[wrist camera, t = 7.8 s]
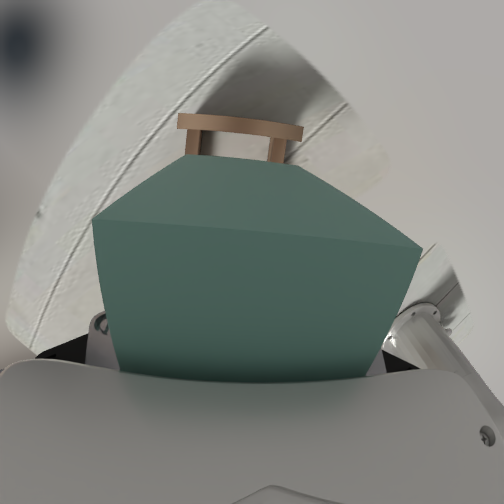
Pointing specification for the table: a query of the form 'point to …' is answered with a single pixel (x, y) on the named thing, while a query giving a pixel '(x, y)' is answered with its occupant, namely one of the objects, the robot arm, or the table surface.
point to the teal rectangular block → (248, 274)
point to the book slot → (238, 131)
